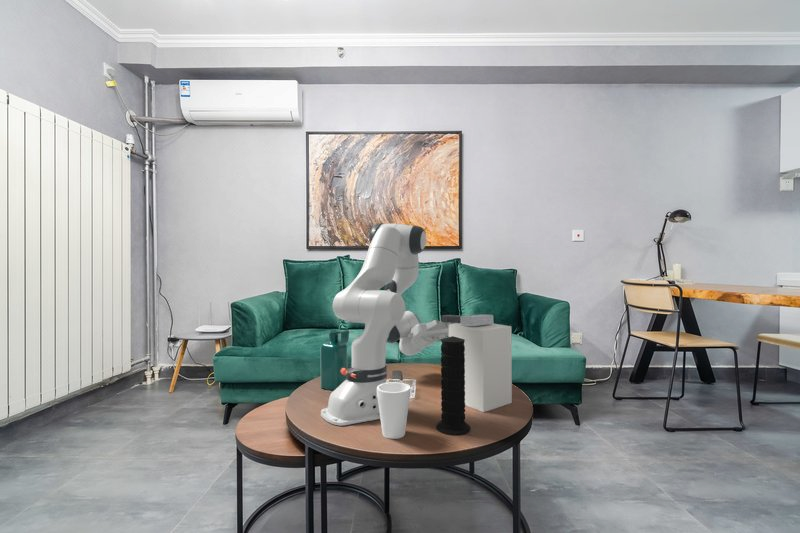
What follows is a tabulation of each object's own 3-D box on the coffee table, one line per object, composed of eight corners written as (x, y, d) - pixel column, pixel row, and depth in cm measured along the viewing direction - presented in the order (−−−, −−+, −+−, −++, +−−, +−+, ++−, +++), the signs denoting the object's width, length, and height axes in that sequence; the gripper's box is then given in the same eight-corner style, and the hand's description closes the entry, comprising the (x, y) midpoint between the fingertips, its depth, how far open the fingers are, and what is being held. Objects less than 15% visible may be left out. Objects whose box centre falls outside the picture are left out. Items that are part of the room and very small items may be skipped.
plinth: (483, 412, 125) (483, 330, 125) (448, 398, 138) (448, 324, 138) (511, 402, 134) (511, 326, 133) (476, 390, 146) (476, 321, 146)
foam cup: (379, 442, 104) (379, 393, 104) (374, 428, 113) (374, 383, 113) (414, 439, 106) (414, 391, 106) (406, 425, 115) (406, 381, 115)
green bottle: (318, 388, 151) (317, 330, 151) (331, 382, 158) (331, 327, 158) (339, 391, 146) (338, 332, 146) (352, 385, 154) (351, 329, 154)
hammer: (473, 326, 131) (472, 317, 131) (434, 323, 147) (433, 315, 148) (493, 323, 137) (493, 314, 137) (453, 321, 153) (453, 313, 153)
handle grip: (429, 424, 116) (446, 438, 107) (429, 334, 116) (446, 340, 107) (458, 418, 120) (477, 431, 111) (458, 332, 120) (477, 337, 111)
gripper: (403, 329, 154) (422, 315, 144) (442, 325, 166) (462, 311, 156) (408, 345, 151) (428, 331, 142) (447, 339, 163) (468, 325, 154)
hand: (446, 320), depth 149 cm, fingers open, 8 cm apart
